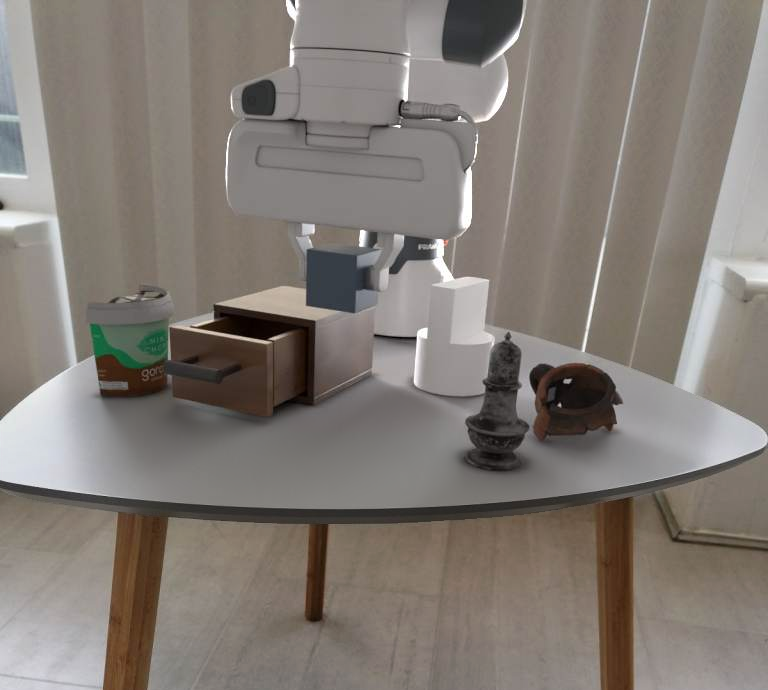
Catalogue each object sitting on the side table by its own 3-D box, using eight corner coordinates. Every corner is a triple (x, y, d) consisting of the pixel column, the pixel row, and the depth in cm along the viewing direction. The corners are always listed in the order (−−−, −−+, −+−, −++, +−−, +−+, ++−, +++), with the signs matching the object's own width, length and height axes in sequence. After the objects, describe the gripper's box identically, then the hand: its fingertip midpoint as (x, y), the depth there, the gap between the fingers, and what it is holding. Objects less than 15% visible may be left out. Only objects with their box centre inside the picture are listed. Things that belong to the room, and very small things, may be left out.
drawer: (240, 431, 78) (238, 354, 75) (142, 409, 82) (137, 335, 79) (331, 385, 93) (333, 320, 90) (245, 368, 98) (244, 305, 94)
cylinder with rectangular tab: (467, 401, 94) (478, 293, 89) (399, 385, 98) (406, 281, 93) (501, 384, 101) (514, 283, 96) (437, 370, 105) (445, 272, 100)
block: (330, 297, 72) (332, 242, 70) (378, 304, 70) (381, 249, 68) (305, 306, 68) (306, 249, 66) (354, 313, 67) (357, 255, 65)
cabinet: (313, 405, 89) (315, 320, 86) (215, 385, 94) (213, 303, 90) (372, 374, 102) (375, 299, 98) (282, 358, 106) (283, 285, 102)
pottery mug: (639, 442, 86) (645, 385, 80) (570, 491, 84) (570, 437, 77) (559, 383, 93) (558, 326, 87) (493, 428, 91) (487, 373, 84)
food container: (148, 406, 86) (141, 308, 82) (93, 399, 87) (84, 302, 83) (196, 375, 97) (192, 287, 93) (146, 369, 98) (141, 282, 94)
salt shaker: (520, 450, 80) (537, 326, 75) (528, 474, 75) (547, 341, 70) (460, 446, 80) (472, 322, 75) (462, 469, 75) (477, 337, 70)
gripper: (493, 106, 62) (474, 295, 68) (256, 93, 69) (258, 265, 75) (465, 104, 56) (447, 309, 62) (212, 89, 64) (218, 275, 70)
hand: (342, 285), depth 69 cm, fingers closed on block, 4 cm apart
